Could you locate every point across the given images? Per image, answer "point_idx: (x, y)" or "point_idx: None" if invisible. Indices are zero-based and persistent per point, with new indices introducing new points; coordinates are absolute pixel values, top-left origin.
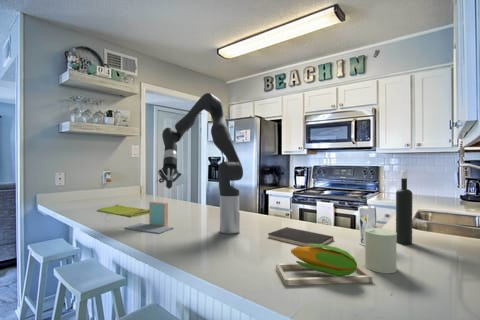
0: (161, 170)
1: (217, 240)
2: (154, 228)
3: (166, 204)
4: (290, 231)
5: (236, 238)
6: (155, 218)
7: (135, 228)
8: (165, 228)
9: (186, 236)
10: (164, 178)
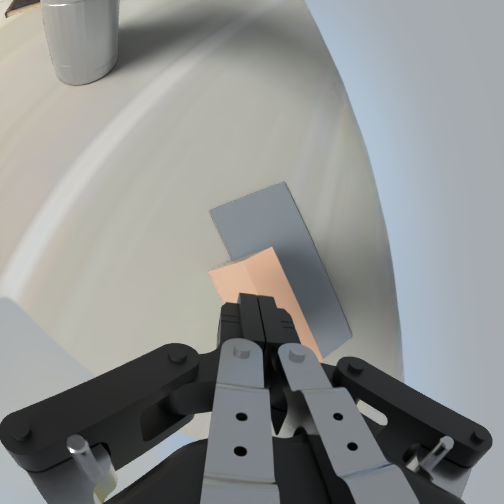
0: (466, 443)
1: (178, 30)
2: (276, 251)
3: (252, 255)
4: None
5: (132, 18)
6: None
7: (329, 298)
8: (242, 220)
9: (222, 99)
10: (358, 363)
